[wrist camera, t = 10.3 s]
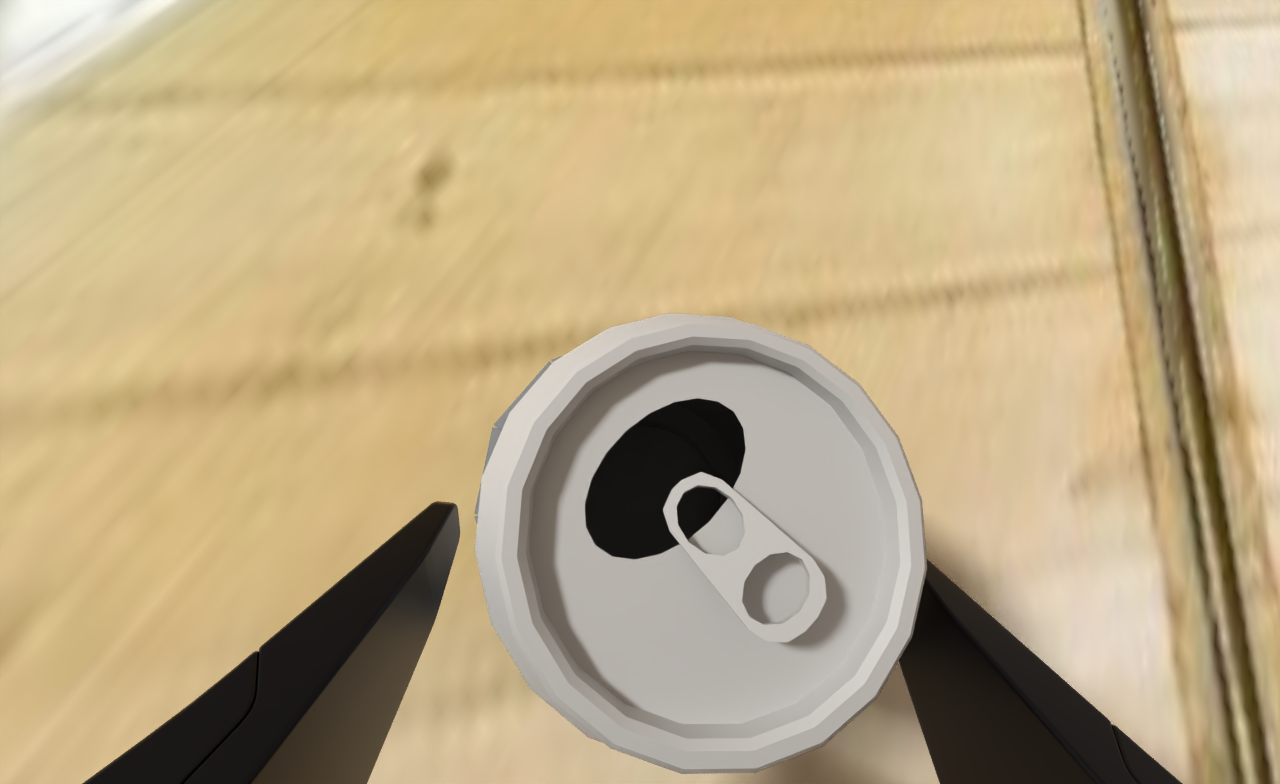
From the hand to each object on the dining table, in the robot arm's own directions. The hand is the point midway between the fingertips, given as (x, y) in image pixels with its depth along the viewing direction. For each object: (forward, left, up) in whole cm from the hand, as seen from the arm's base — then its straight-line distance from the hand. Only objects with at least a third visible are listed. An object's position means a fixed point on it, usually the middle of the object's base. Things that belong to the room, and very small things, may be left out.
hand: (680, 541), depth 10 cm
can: (0, 0, -9) cm, 9 cm away
